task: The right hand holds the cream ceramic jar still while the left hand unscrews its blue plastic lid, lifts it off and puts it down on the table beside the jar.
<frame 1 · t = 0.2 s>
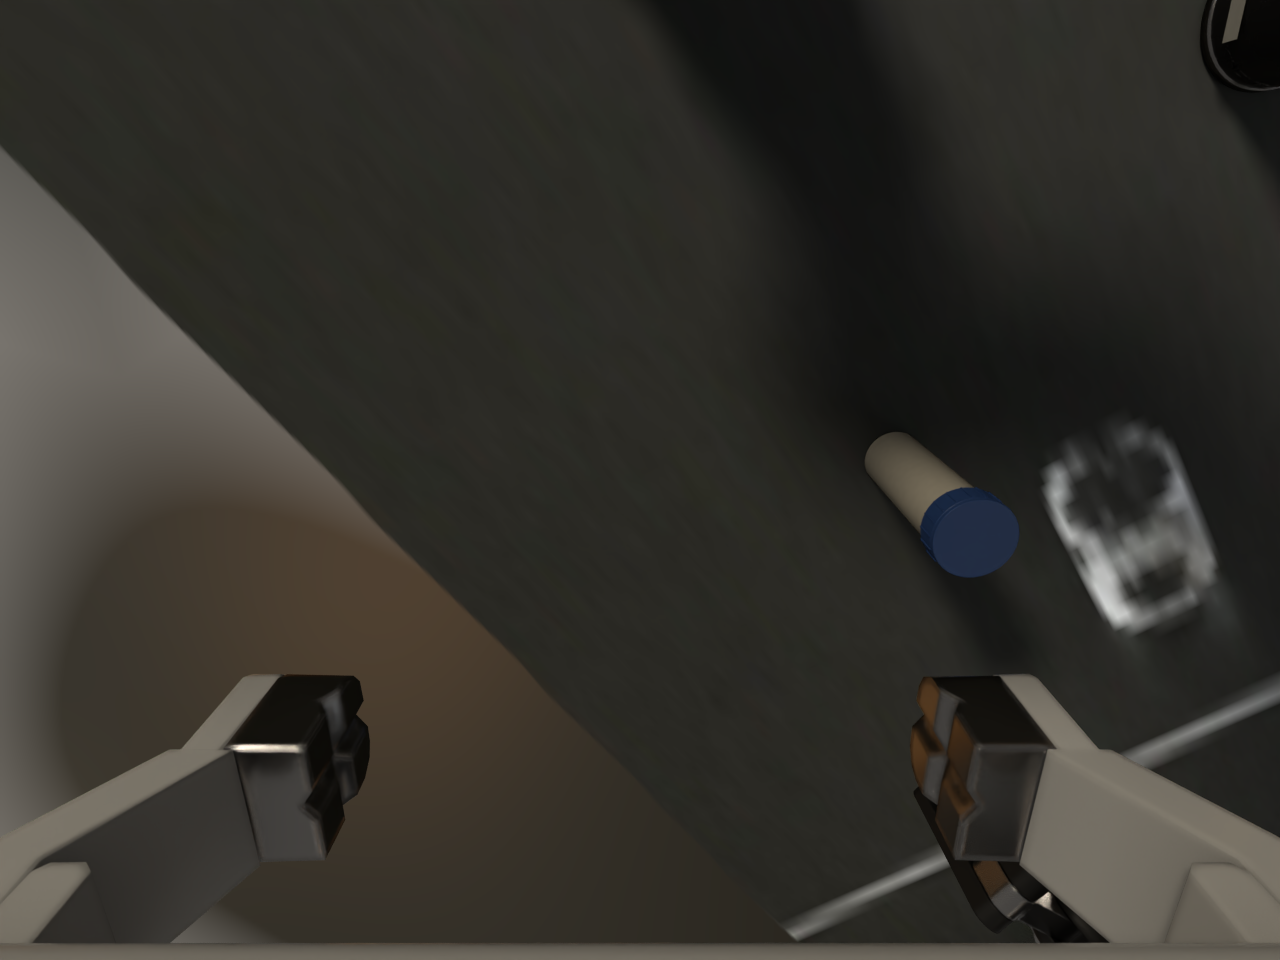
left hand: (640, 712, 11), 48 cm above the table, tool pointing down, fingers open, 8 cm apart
jar: (893, 459, 60), on the table
lid: (973, 537, 45), point 15 cm above the table, screwed on, not yet turned
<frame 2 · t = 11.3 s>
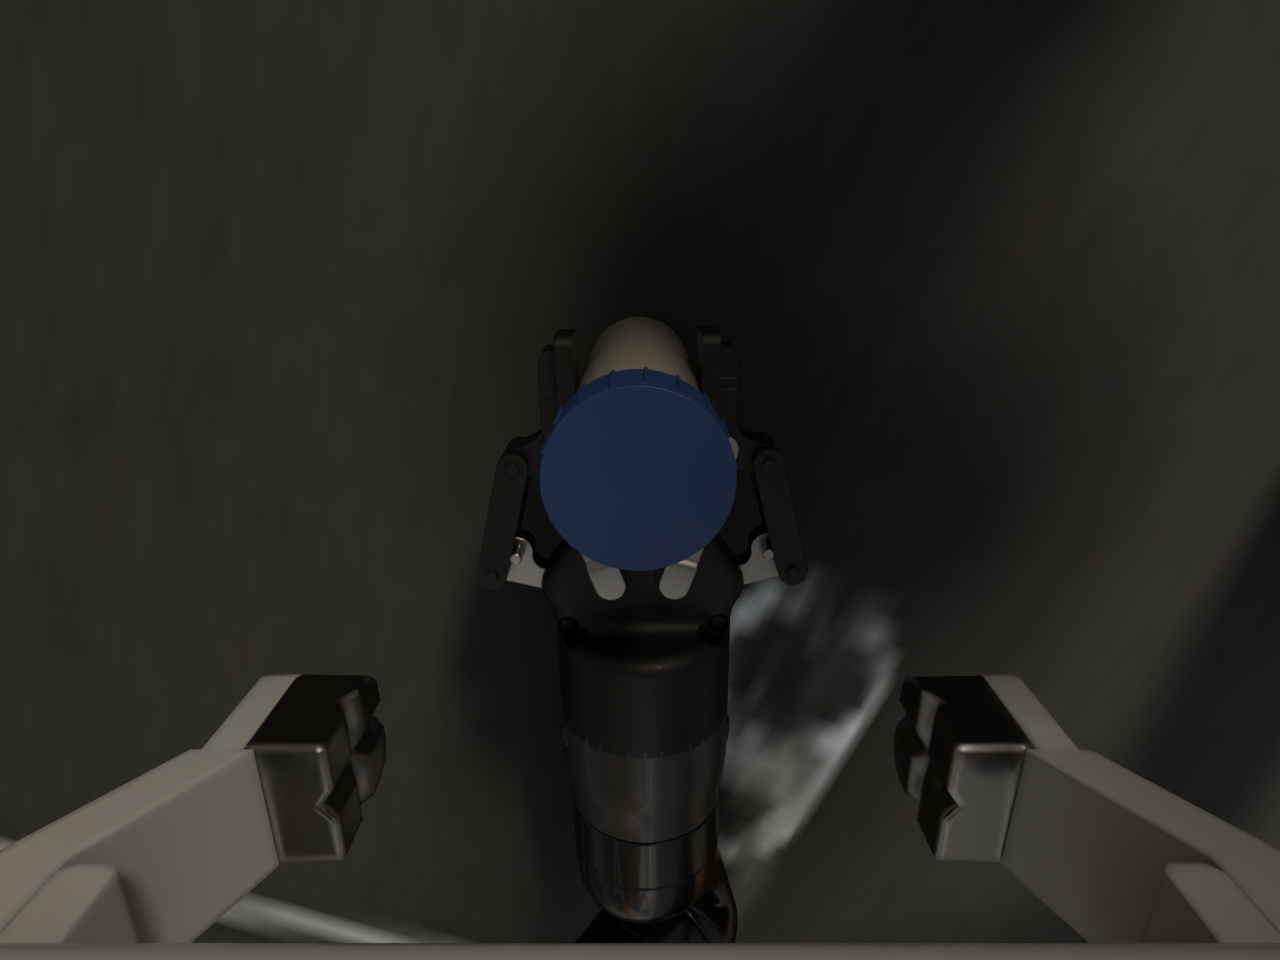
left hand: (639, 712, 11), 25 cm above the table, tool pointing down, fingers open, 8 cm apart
right hand: (638, 332, 27), fingers closed on jar, 4 cm apart
jar: (638, 367, 34), on the table, touching right hand
lid: (638, 478, 20), point 15 cm above the table, screwed on, not yet turned
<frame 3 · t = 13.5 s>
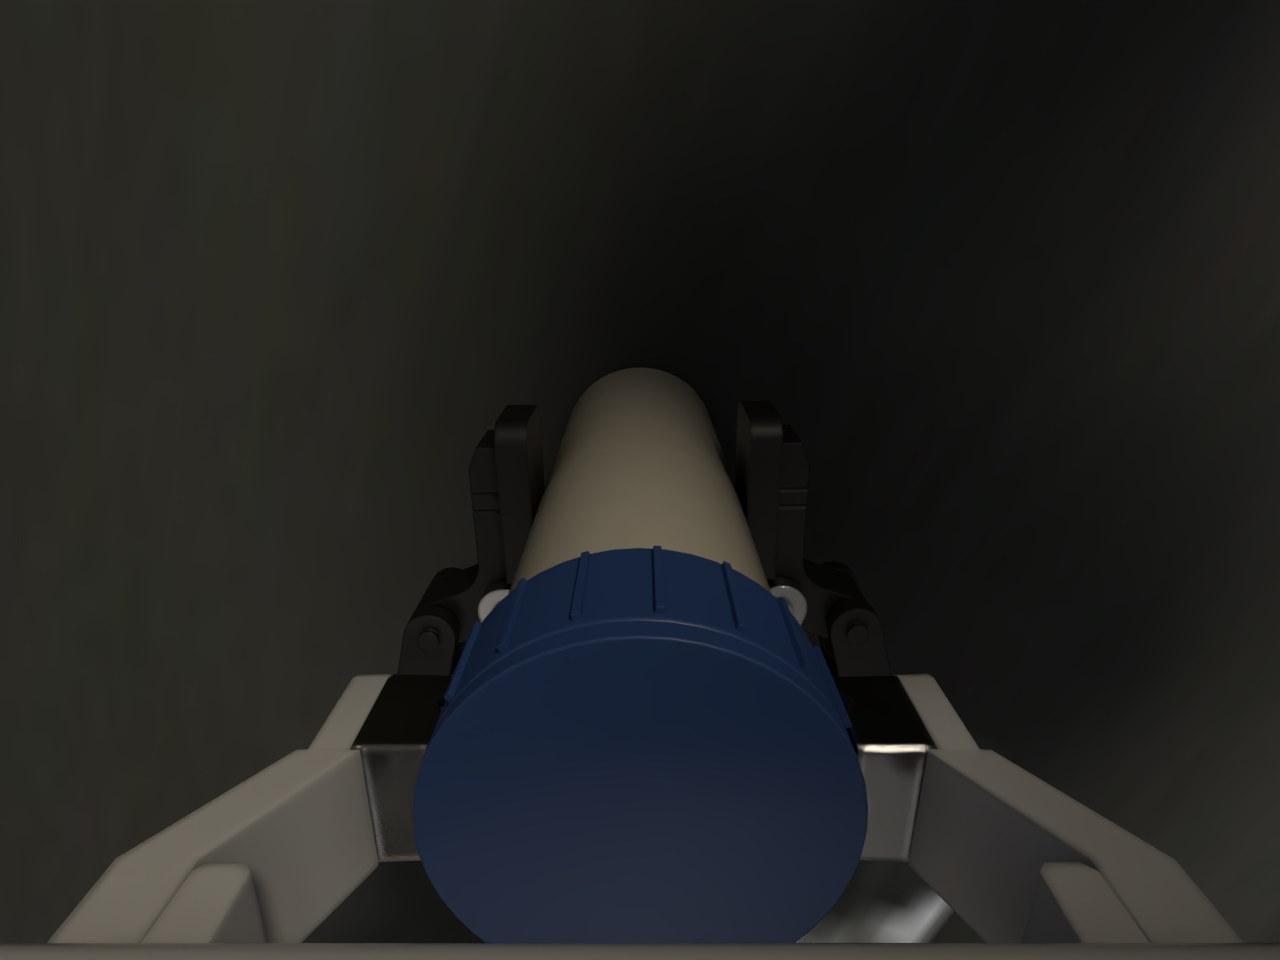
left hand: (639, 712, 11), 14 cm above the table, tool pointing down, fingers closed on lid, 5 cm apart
jar: (640, 440, 23), on the table, touching right hand
lid: (640, 810, 9), point 15 cm above the table, screwed on, not yet turned, touching left hand
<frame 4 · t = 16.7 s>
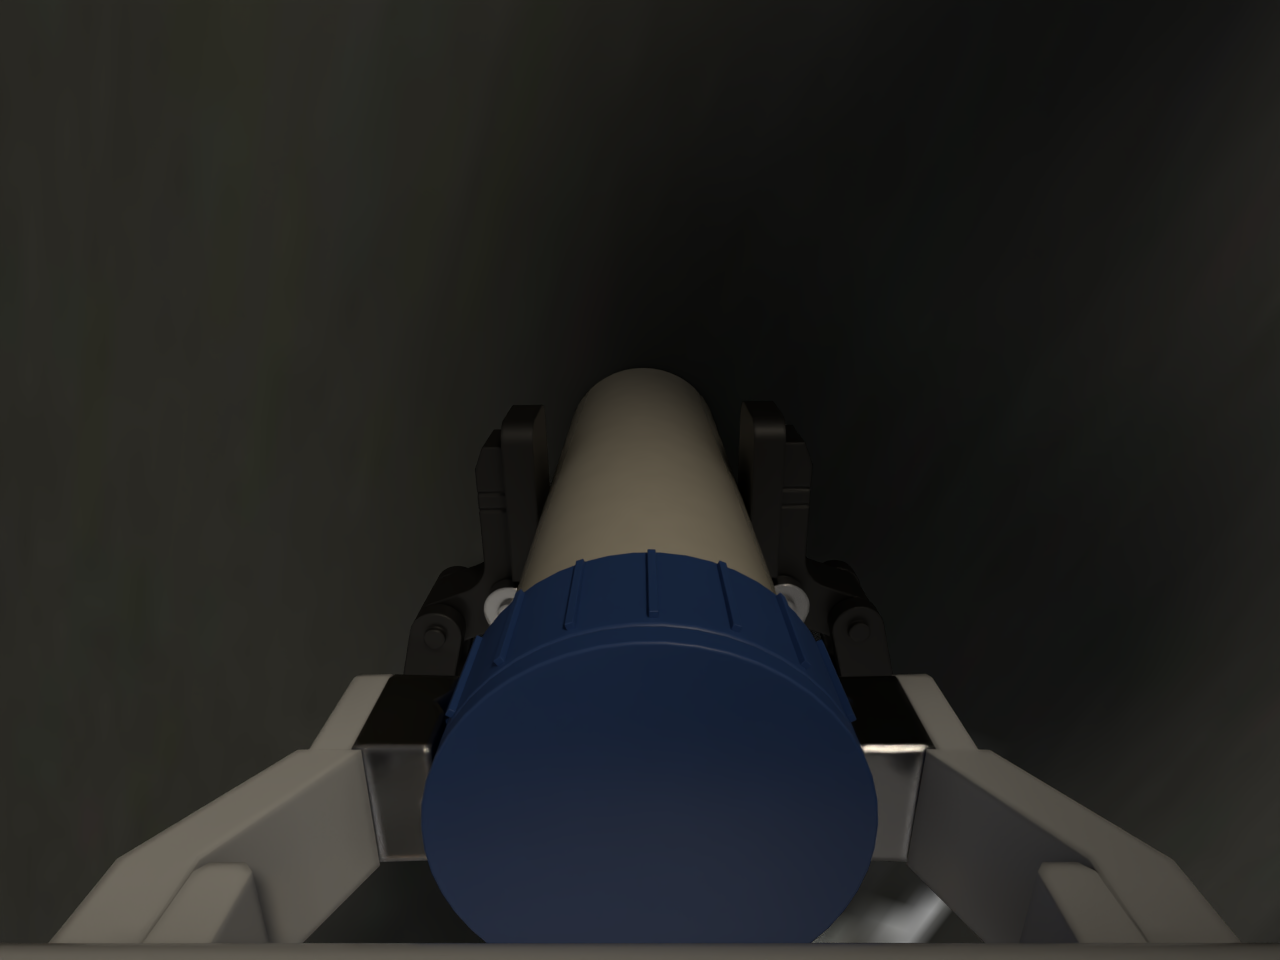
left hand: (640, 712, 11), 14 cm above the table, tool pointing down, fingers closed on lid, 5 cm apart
jar: (642, 439, 23), on the table, touching right hand
lid: (649, 815, 9), point 16 cm above the table, turned 64° so far, risen 0.2 cm, still on its thread, touching left hand
when the left hand's fingers open (2 cm above the table, at t = 23.3 s): lid drops 2 cm, point 2 cm above the table.
when the right hand's fingers open (7 cm above the table, at t = 24.3 s): jar stays where it is, on the table.
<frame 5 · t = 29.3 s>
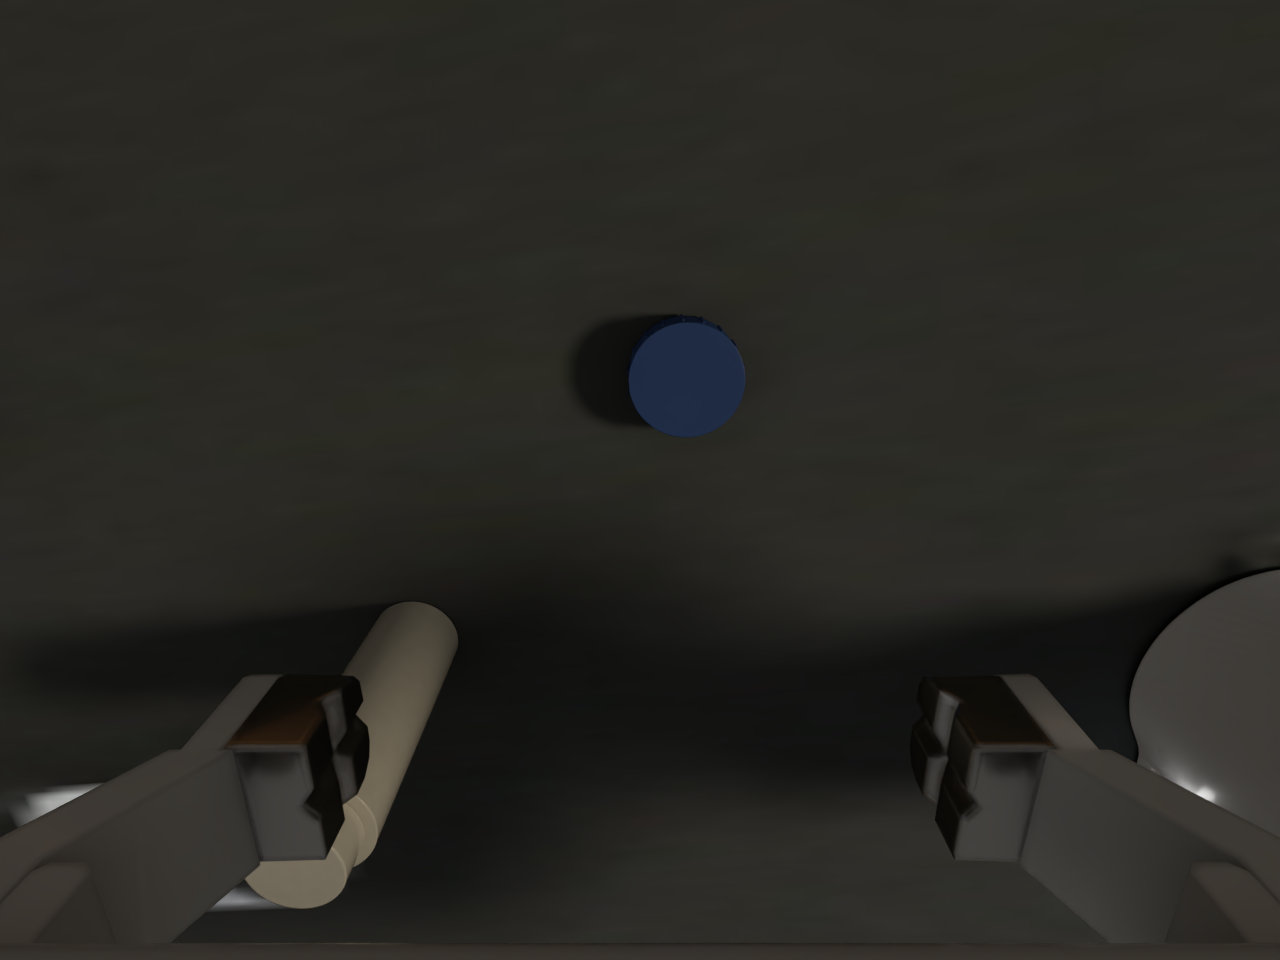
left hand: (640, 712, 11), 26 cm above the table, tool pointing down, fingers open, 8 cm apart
jar: (416, 638, 40), on the table
lid: (686, 379, 33), point 2 cm above the table, off its thread
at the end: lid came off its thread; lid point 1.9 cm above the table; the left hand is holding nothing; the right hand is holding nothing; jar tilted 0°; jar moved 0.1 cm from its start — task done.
